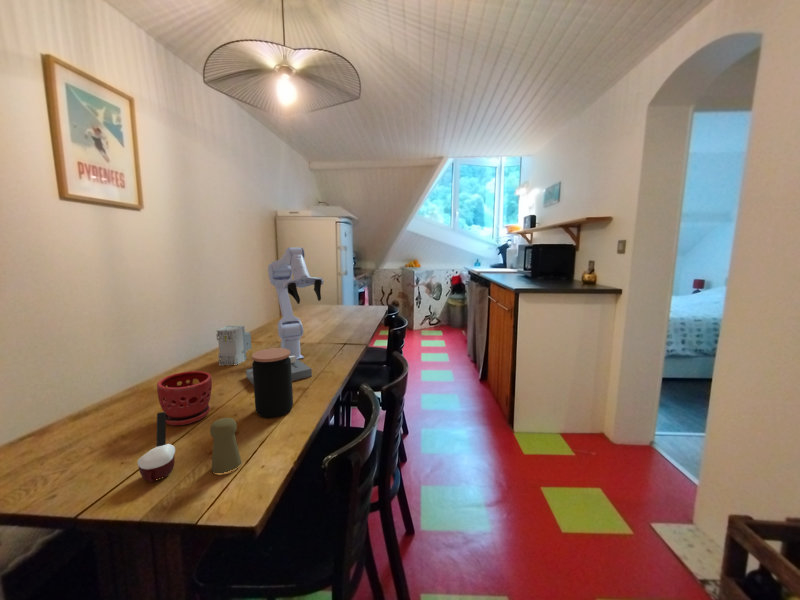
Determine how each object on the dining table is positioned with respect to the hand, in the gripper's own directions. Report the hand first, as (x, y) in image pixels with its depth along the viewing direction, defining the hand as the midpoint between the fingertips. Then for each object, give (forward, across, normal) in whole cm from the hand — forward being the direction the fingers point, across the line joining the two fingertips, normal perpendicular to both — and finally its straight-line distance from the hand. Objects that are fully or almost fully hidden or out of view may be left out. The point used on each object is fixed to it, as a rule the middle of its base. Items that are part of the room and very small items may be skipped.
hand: (309, 300), depth 123 cm
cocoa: (+46, -46, -9) cm, 65 cm away
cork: (+49, -33, -12) cm, 60 cm away
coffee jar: (+35, -19, +5) cm, 40 cm away
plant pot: (+28, -41, +10) cm, 51 cm away
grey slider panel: (+16, -13, +25) cm, 32 cm away
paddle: (+11, -7, +26) cm, 29 cm away
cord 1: (+9, -20, +32) cm, 39 cm away
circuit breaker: (-5, -25, +46) cm, 52 cm away
